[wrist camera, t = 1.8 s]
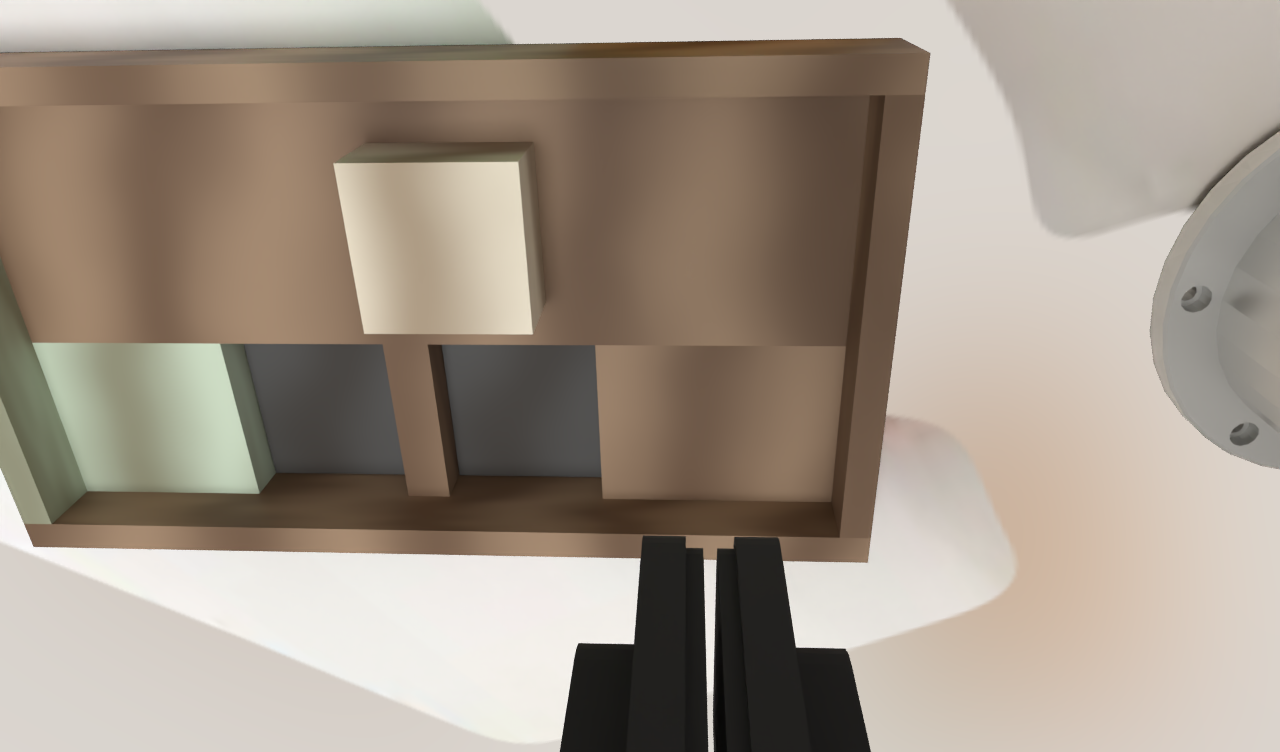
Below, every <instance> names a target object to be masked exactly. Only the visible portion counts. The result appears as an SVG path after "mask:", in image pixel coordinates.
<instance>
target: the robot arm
mask: <svg viewBox="0 0 1280 752" xmlns="http://www.w3.org/2000/svg"><path fill="white" fill-rule="evenodd" d="M1186 291H1187V292H1186ZM1150 337H1151V345H1152V353H1153V361H1154V365H1155V368H1156V370H1157V373H1158V375H1159V378H1160V380H1161V383H1162V386H1163V388H1164V391H1165V392H1166V394H1167V395H1168V396H1169V398H1170V399H1171V400H1172V402H1173V403H1174V405H1175V406H1176V408H1177V409H1178V410H1179V412H1180V413H1181V414H1182V416H1184V417H1185V418H1186V419H1187V420H1188V421H1189V422H1190V423H1191V424H1192V425H1193V426H1194V427H1195V428H1196V429H1197V430H1198V431H1199V432H1200V433H1201V434H1202V435H1203V436H1204V437H1205V438H1207V439H1208V440H1210V441H1211V442H1213V443H1214V444H1215V445H1217V446H1218V447H1220V448H1221V449H1223V450H1224V451H1226V452H1228V453H1230V454H1232V455H1234V456H1237V457H1239V458H1242V459H1245V460H1247V461H1250V462H1253V463H1255V464H1258V465H1261V466H1265V467H1271V468H1276V469H1280V131H1279V132H1278V133H1276V134H1275V135H1273V136H1272V137H1271V138H1269V139H1268V140H1267V141H1265V142H1264V143H1263V144H1261V145H1260V146H1258V147H1257V148H1256V149H1254V150H1253V151H1252V152H1250V153H1249V154H1248V155H1246V156H1245V157H1244V158H1243V159H1242V160H1241V161H1240V162H1239V163H1238V164H1237V165H1236V166H1235V167H1234V168H1233V169H1232V170H1230V171H1229V172H1228V173H1227V174H1226V175H1225V176H1224V177H1223V178H1222V179H1221V180H1220V181H1219V182H1218V183H1217V184H1216V185H1215V186H1214V187H1213V188H1212V189H1211V190H1210V192H1209V193H1208V194H1207V196H1206V197H1205V198H1204V199H1203V201H1202V202H1201V203H1200V205H1199V206H1198V207H1197V209H1196V210H1195V211H1194V213H1193V214H1192V215H1191V217H1190V218H1189V219H1188V221H1187V222H1186V223H1185V225H1184V226H1183V228H1182V230H1181V232H1180V234H1179V236H1178V238H1177V239H1176V241H1175V244H1174V245H1173V247H1172V249H1171V251H1170V253H1169V255H1168V257H1167V259H1166V260H1165V263H1164V266H1163V269H1162V272H1161V275H1160V278H1159V282H1158V285H1157V288H1156V291H1155V294H1154V298H1153V308H1152V316H1151V326H1150ZM713 696H714V697H713V737H714V752H871V751H870V746H869V741H868V737H867V733H866V728H865V723H864V719H863V714H862V710H861V706H860V701H859V696H858V692H857V687H856V683H855V678H854V674H853V669H852V665H851V661H850V658H849V654H848V653H847V651H846V649H834V648H796V646H795V639H794V632H793V626H792V619H791V613H790V606H789V599H788V593H787V586H786V579H785V573H784V566H783V559H782V553H781V546H780V541H779V538H778V537H734V545H733V549H729V548H717V566H716V608H715V650H714V692H713ZM707 724H708V723H707V681H706V640H705V599H704V557H703V548H686V536H645V535H643V537H642V548H641V561H640V574H639V587H638V600H637V613H636V627H635V640H634V644H588V643H579V644H578V646H577V649H576V653H575V658H574V665H573V671H572V677H571V684H570V690H569V697H568V703H567V709H566V716H565V722H564V728H563V735H562V741H561V748H560V752H708V725H707Z"/></svg>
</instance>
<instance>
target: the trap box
mask: <svg viewBox="0 0 1280 752" xmlns="http://www.w3.org/2000/svg"><path fill="white" fill-rule="evenodd" d="M929 60H930V53H929V52H927V51H925V50H923V49H921V48H919V47H917V46H915V45H913V44H911V43H909V42H907V41H905V40H903V39H902V38H876V39H875V38H874V39H873V38H872V39H812V40H753V41H751V40H750V41H693V42H692V41H688V42H631V43H630V42H627V43H569V44H568V43H566V44H505V45H443V46H382V47H321V48H259V49H198V50H137V51H75V52H14V53H0V468H1V470H2V473H3V475H4V477H5V480H6V482H7V484H8V487H9V489H10V492H11V494H12V496H13V499H14V501H15V503H16V506H17V508H18V511H19V513H20V515H21V518H22V520H23V522H24V525H25V527H26V530H27V532H28V534H29V537H30V539H31V541H32V544H33V546H34V547H70V548H123V549H176V550H229V551H282V552H335V553H388V554H441V555H494V556H547V557H600V558H641V548H642V537H643V535H645V536H686V548H703V557H704V559H706V560H717V548H729V549H733V545H734V537H778V538H779V541H780V546H781V553H782V559H783V561H812V562H865V563H868V555H869V547H870V539H871V531H872V523H873V514H874V506H875V498H876V490H877V482H878V474H879V466H880V458H881V449H882V441H883V433H884V425H885V417H886V408H887V401H888V393H889V384H890V376H891V368H892V360H893V352H894V344H895V336H896V328H897V319H898V311H899V303H900V294H901V287H902V279H903V270H904V263H905V255H906V246H907V238H908V230H909V222H910V213H911V206H912V198H913V189H914V180H915V173H916V165H917V156H918V149H919V140H920V132H921V125H922V116H923V108H924V100H925V92H926V84H927V76H928V67H929ZM445 142H534V151H535V165H536V178H537V191H538V204H539V218H540V231H541V244H542V257H543V271H544V284H545V297H546V303H545V305H544V308H543V310H542V313H541V315H540V318H539V320H538V323H537V325H536V328H535V330H534V333H533V334H364V330H363V324H362V319H361V313H360V308H359V302H358V297H357V291H356V286H355V280H354V275H353V269H352V264H351V258H350V253H349V247H348V242H347V236H346V230H345V225H344V219H343V214H342V208H341V203H340V197H339V192H338V186H337V181H336V175H335V170H334V164H333V163H335V162H336V161H338V160H339V159H341V158H343V157H344V156H346V155H347V154H349V153H350V152H352V151H354V150H355V149H357V148H358V147H360V146H361V145H363V144H364V143H445Z"/></svg>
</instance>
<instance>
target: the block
mask: <svg viewBox="0 0 1280 752" xmlns="http://www.w3.org/2000/svg"><path fill="white" fill-rule="evenodd" d="M333 164H334V170H335V175H336V181H337V186H338V192H339V197H340V203H341V208H342V214H343V219H344V225H345V230H346V236H347V242H348V247H349V253H350V258H351V264H352V269H353V275H354V280H355V286H356V291H357V297H358V302H359V308H360V313H361V319H362V324H363V330H364V334H533V333H534V330H535V328H536V325H537V323H538V320H539V318H540V315H541V313H542V310H543V308H544V305H545V303H546V297H545V284H544V271H543V257H542V244H541V231H540V218H539V204H538V191H537V178H536V165H535V151H534V142H445V143H364V144H363V145H361V146H360V147H358V148H357V149H355V150H354V151H352V152H350V153H349V154H347V155H346V156H344V157H343V158H341V159H339V160H338V161H336V162H335V163H333Z"/></svg>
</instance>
